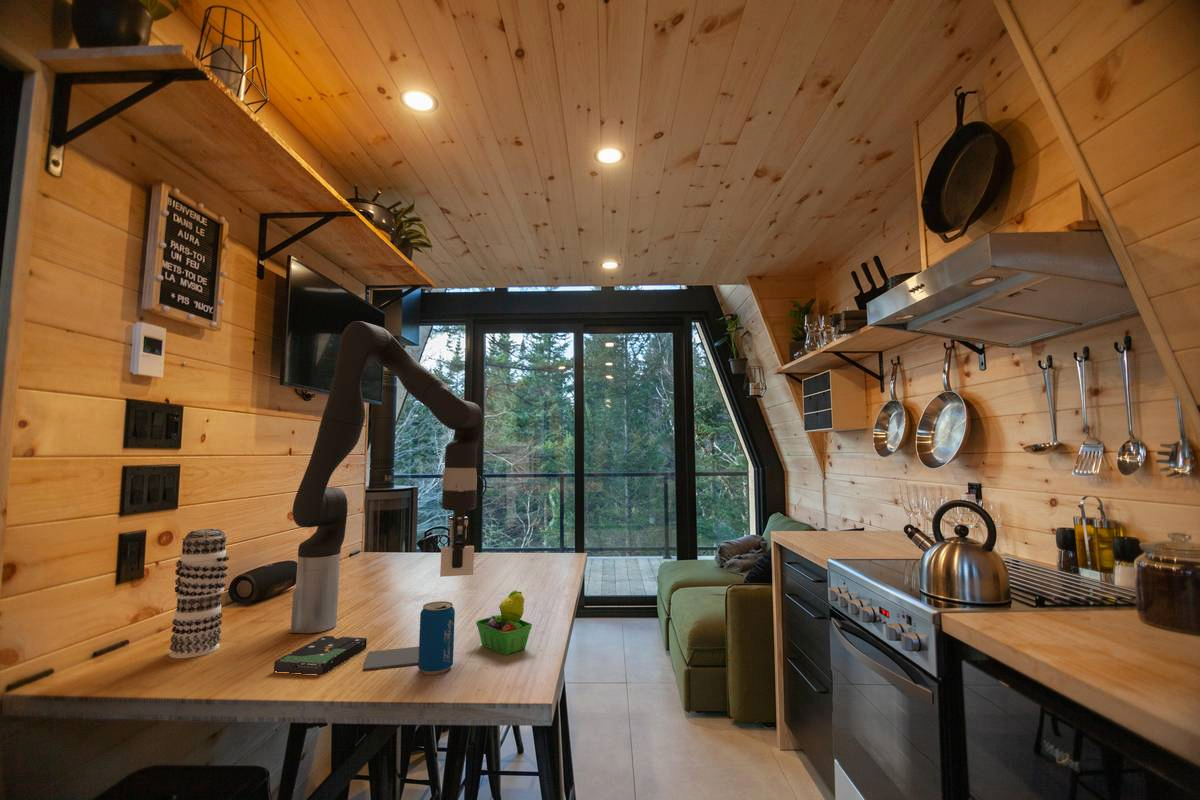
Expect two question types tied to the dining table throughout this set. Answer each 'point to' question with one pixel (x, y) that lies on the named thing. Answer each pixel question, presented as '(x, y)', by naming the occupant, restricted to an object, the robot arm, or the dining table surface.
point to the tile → (446, 562)
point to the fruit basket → (506, 626)
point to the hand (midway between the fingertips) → (456, 566)
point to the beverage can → (436, 637)
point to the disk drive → (320, 655)
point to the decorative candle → (199, 594)
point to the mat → (392, 658)
